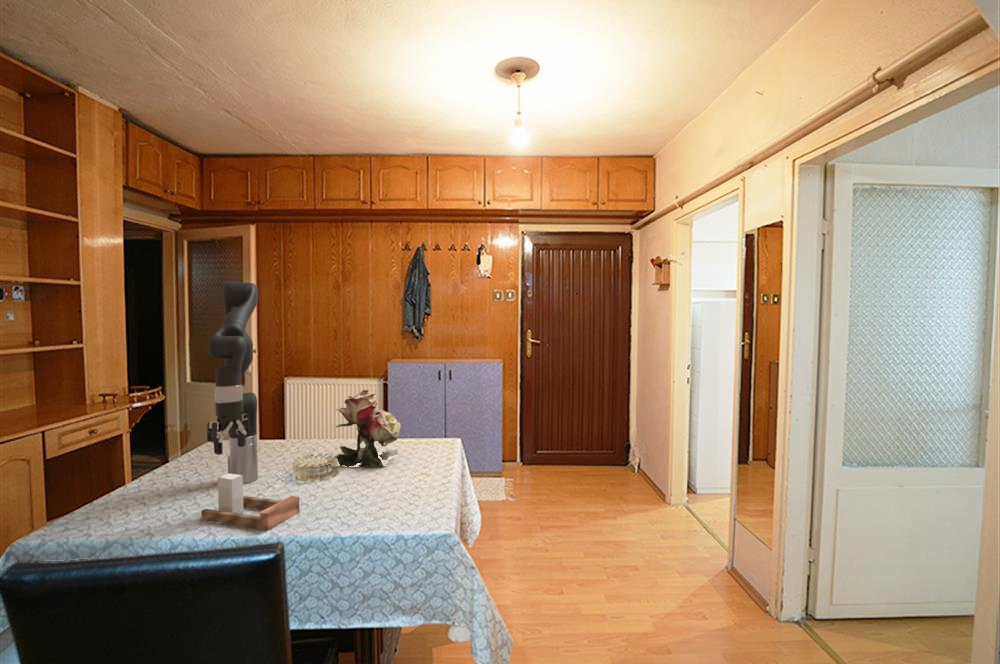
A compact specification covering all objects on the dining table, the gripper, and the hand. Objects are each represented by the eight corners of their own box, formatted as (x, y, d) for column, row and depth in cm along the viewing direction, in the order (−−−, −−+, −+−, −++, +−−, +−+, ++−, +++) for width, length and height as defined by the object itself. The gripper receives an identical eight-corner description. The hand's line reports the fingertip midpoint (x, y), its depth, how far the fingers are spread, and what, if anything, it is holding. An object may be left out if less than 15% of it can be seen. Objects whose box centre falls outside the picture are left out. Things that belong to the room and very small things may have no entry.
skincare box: (244, 512, 148) (243, 474, 147) (232, 517, 143) (231, 479, 143) (229, 509, 149) (228, 472, 149) (217, 514, 145) (216, 477, 145)
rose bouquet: (396, 468, 189) (395, 395, 188) (325, 468, 190) (324, 395, 189) (409, 449, 215) (408, 385, 214) (347, 450, 215) (345, 386, 214)
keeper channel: (201, 520, 142) (201, 504, 141) (236, 503, 154) (236, 488, 154) (268, 530, 135) (268, 513, 134) (299, 512, 147) (299, 496, 147)
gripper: (237, 395, 153) (239, 443, 154) (199, 403, 139) (200, 456, 140) (256, 396, 151) (257, 445, 152) (219, 404, 137) (220, 458, 138)
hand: (230, 450), depth 146 cm, fingers open, 8 cm apart
